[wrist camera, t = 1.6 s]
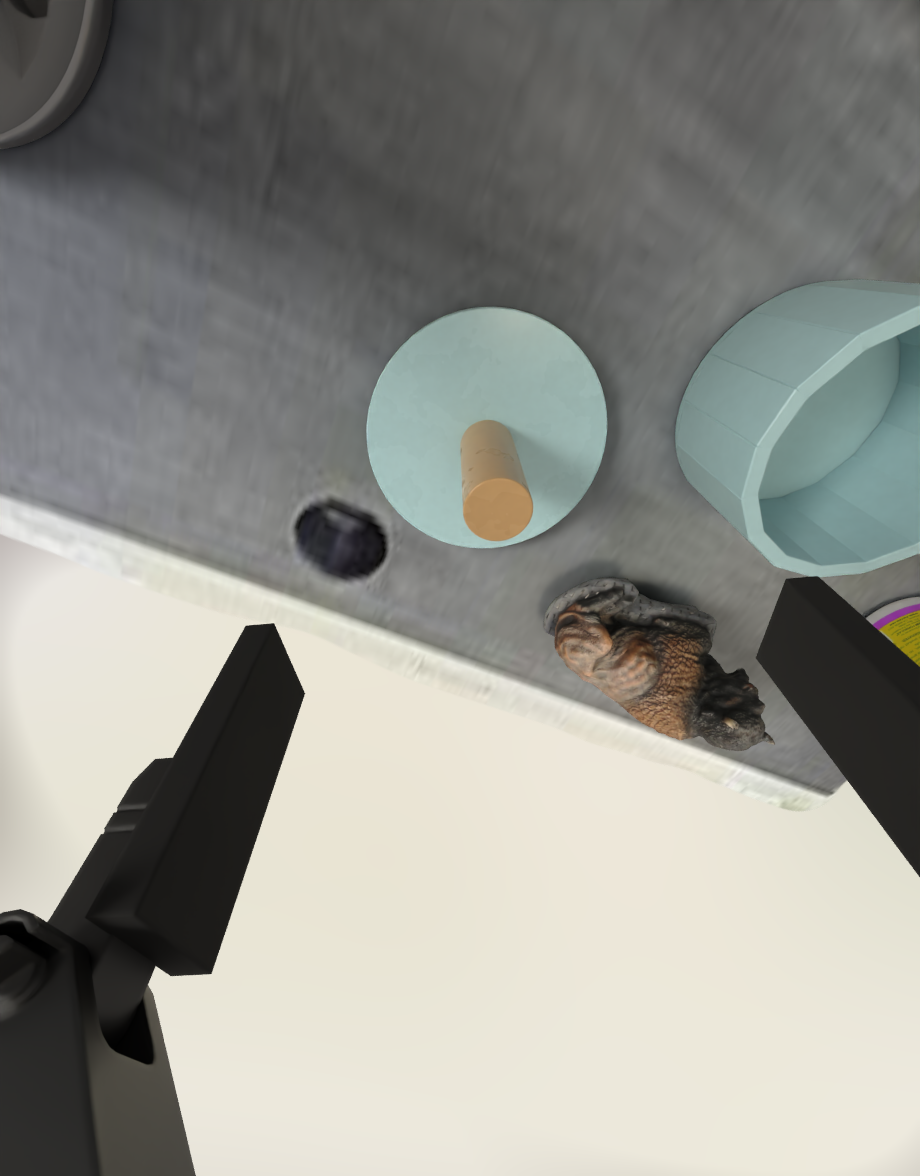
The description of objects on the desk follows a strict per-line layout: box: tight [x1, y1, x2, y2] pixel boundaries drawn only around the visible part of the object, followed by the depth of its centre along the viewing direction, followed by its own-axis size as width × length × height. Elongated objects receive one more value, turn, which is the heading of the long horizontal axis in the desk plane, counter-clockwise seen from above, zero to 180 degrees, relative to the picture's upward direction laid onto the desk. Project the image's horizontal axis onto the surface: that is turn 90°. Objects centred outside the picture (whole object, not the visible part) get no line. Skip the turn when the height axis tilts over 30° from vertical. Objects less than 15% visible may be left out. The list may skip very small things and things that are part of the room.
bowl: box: [675, 279, 920, 577], centre depth 22 cm, size 11×11×8 cm
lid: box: [366, 306, 607, 548], centre depth 22 cm, size 13×13×9 cm
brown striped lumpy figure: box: [543, 577, 775, 751], centre depth 29 cm, size 12×7×10 cm, turn 72°
